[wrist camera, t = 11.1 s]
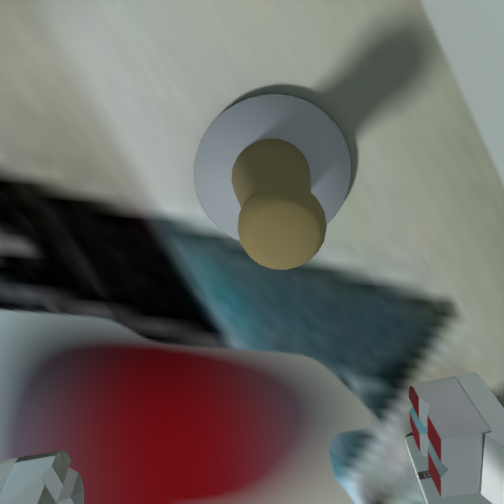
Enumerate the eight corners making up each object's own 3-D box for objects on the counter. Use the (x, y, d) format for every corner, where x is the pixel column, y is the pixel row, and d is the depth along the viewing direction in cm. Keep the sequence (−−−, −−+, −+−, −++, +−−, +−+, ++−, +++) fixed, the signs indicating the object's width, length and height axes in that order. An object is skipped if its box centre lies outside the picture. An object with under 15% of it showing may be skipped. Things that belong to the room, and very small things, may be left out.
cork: (241, 129, 34) (245, 174, 24) (320, 149, 35) (354, 201, 25) (223, 204, 36) (219, 274, 27) (296, 221, 37) (319, 294, 27)
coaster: (214, 254, 39) (214, 259, 39) (176, 112, 34) (175, 114, 33) (355, 228, 39) (357, 232, 38) (340, 77, 33) (342, 79, 32)
